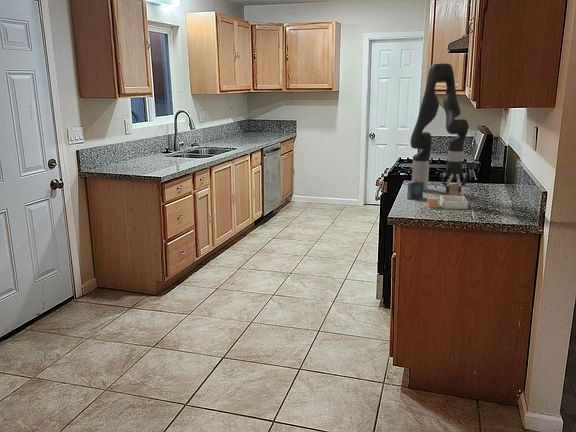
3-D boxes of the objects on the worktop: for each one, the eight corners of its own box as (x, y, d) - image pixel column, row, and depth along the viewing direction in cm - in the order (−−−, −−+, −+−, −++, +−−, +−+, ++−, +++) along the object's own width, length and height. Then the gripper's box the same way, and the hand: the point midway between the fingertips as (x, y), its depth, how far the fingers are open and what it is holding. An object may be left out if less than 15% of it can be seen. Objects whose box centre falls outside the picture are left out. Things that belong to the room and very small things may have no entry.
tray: (439, 201, 262) (439, 195, 261) (463, 202, 260) (463, 195, 259) (442, 208, 248) (442, 201, 247) (468, 209, 245) (468, 202, 244)
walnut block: (447, 193, 258) (448, 184, 257) (457, 193, 257) (457, 184, 256) (449, 195, 254) (449, 186, 253) (458, 195, 253) (458, 186, 252)
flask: (408, 199, 269) (409, 179, 266) (405, 198, 272) (406, 178, 269) (423, 198, 272) (424, 178, 269) (420, 197, 274) (421, 177, 272)
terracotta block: (427, 205, 254) (427, 197, 253) (436, 206, 253) (437, 197, 252) (428, 207, 249) (428, 199, 248) (437, 208, 249) (438, 199, 248)
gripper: (468, 159, 254) (466, 192, 258) (439, 158, 256) (437, 191, 260) (471, 161, 247) (468, 195, 251) (441, 160, 249) (439, 194, 253)
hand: (453, 193), depth 255 cm, fingers closed on walnut block, 4 cm apart
